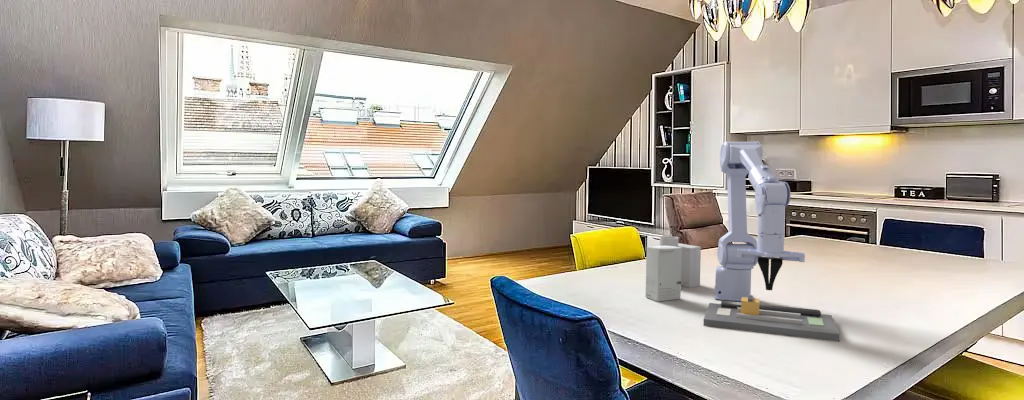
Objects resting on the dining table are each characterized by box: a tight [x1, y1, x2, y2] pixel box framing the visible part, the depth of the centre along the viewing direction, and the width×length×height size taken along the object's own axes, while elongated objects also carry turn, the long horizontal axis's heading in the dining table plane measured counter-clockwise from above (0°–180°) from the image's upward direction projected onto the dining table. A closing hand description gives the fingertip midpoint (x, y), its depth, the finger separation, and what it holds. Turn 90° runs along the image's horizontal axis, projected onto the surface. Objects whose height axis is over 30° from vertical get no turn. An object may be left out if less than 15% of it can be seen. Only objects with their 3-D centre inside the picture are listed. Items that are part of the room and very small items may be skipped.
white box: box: [659, 235, 702, 288], centre depth 174 cm, size 12×14×15 cm
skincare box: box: [644, 245, 682, 302], centre depth 157 cm, size 8×6×15 cm
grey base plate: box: [703, 300, 841, 342], centre depth 134 cm, size 28×16×3 cm, turn 66°
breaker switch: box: [740, 294, 761, 315], centre depth 135 cm, size 4×4×4 cm
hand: (769, 289), depth 133 cm, fingers closed
